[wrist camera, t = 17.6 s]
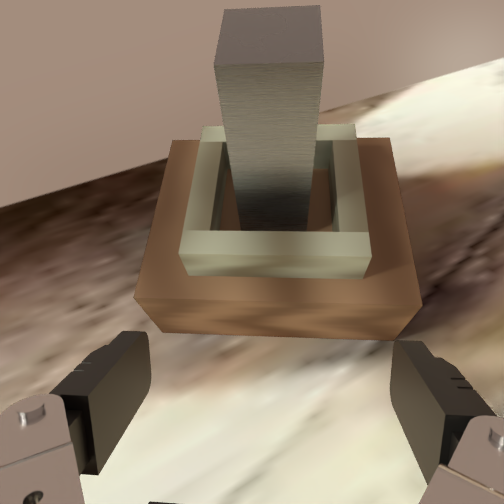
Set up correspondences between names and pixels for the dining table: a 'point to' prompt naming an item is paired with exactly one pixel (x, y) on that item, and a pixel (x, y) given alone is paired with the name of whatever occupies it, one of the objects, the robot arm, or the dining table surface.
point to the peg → (271, 110)
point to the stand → (282, 248)
